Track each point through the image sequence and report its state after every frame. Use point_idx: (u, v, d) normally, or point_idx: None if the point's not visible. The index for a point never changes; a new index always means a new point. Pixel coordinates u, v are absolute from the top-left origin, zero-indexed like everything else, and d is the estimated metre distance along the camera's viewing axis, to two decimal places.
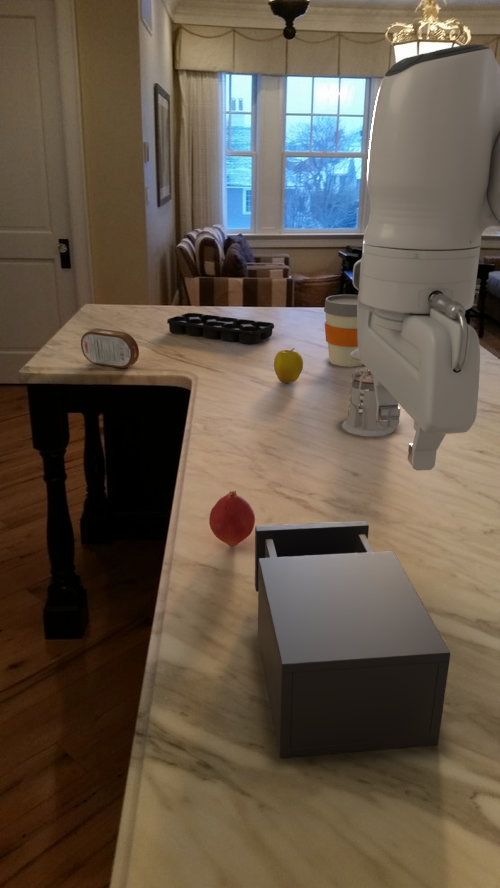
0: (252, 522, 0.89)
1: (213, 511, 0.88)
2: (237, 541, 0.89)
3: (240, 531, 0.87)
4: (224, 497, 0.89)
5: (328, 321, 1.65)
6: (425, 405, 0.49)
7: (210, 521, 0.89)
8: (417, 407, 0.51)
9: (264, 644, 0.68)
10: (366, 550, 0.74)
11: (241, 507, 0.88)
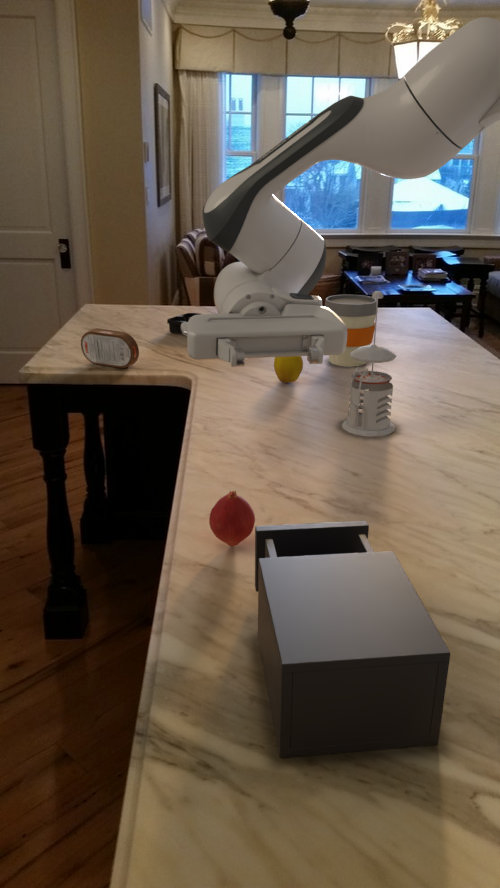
0: (252, 522, 0.89)
1: (213, 511, 0.88)
2: (237, 541, 0.89)
3: (240, 531, 0.87)
4: (224, 497, 0.89)
5: None
6: None
7: (210, 521, 0.89)
8: None
9: (264, 644, 0.68)
10: (366, 550, 0.74)
11: (241, 507, 0.88)
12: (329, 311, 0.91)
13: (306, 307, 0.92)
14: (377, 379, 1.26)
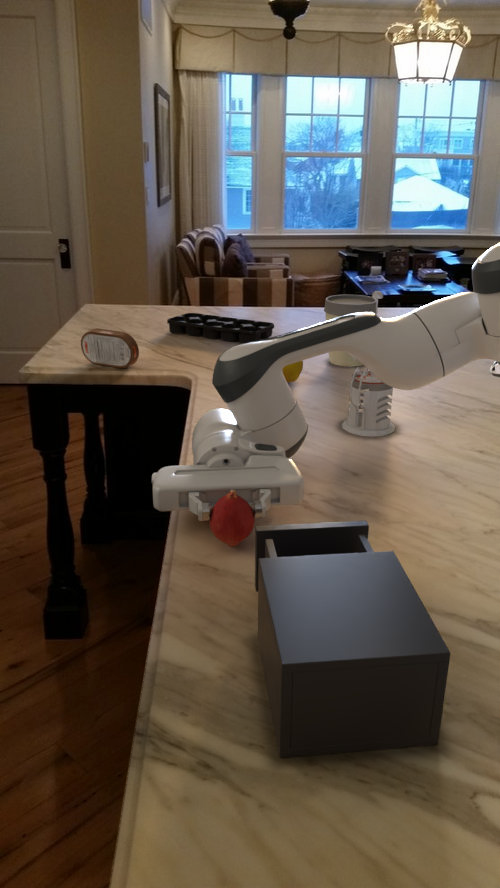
0: (252, 522, 0.89)
1: (213, 511, 0.88)
2: (237, 541, 0.89)
3: (240, 531, 0.87)
4: (224, 497, 0.89)
5: None
6: None
7: (210, 521, 0.89)
8: None
9: (264, 644, 0.68)
10: (366, 550, 0.74)
11: (240, 507, 0.88)
12: (289, 462, 0.97)
13: (268, 458, 0.98)
14: (377, 379, 1.26)
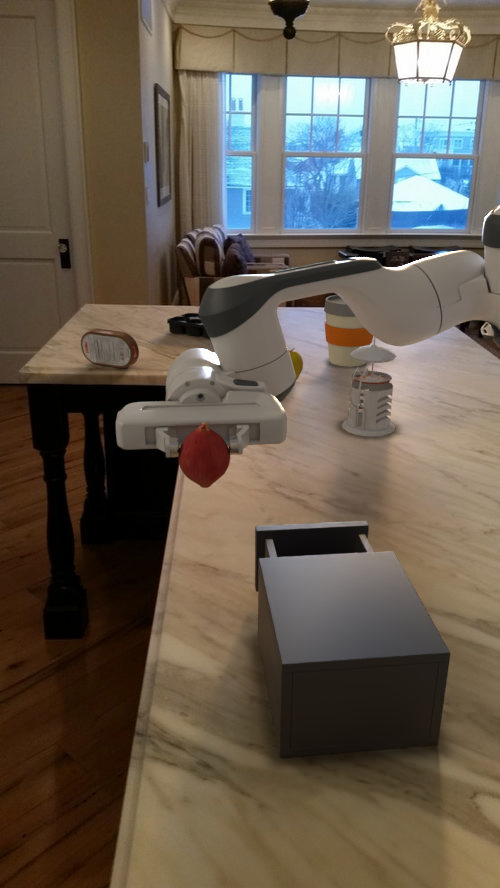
0: (226, 459, 0.78)
1: (183, 446, 0.78)
2: (209, 480, 0.78)
3: (213, 468, 0.77)
4: (195, 431, 0.78)
5: (328, 321, 1.65)
6: None
7: (179, 458, 0.78)
8: None
9: (264, 644, 0.68)
10: (366, 550, 0.74)
11: (213, 441, 0.77)
12: (271, 398, 0.87)
13: (248, 394, 0.88)
14: (377, 379, 1.26)
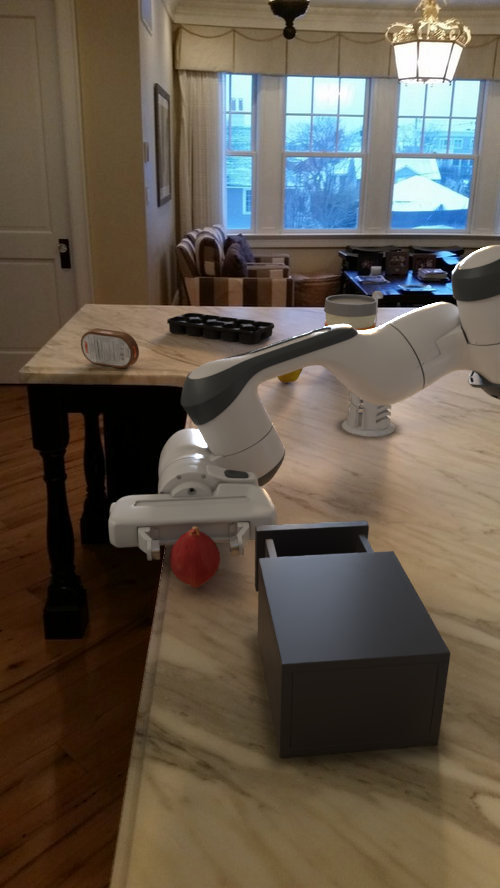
0: (216, 562, 0.80)
1: (173, 550, 0.80)
2: (200, 583, 0.80)
3: (203, 573, 0.79)
4: (185, 534, 0.80)
5: (328, 321, 1.65)
6: None
7: (170, 561, 0.80)
8: None
9: (264, 644, 0.68)
10: (366, 550, 0.74)
11: (203, 546, 0.79)
12: (262, 492, 0.88)
13: (239, 487, 0.89)
14: None
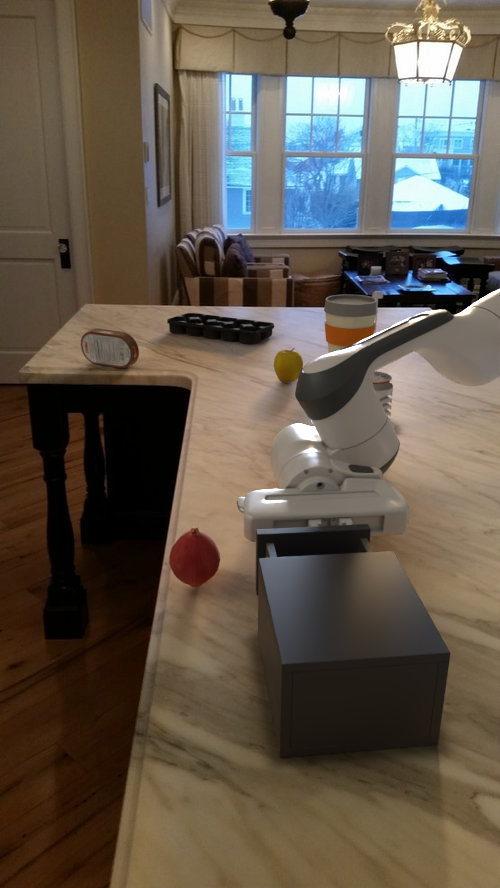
0: (216, 562, 0.80)
1: (173, 550, 0.80)
2: (200, 583, 0.80)
3: (203, 573, 0.79)
4: (185, 534, 0.80)
5: (328, 321, 1.65)
6: None
7: (170, 561, 0.80)
8: None
9: (264, 644, 0.68)
10: None
11: (203, 546, 0.79)
12: (390, 486, 0.88)
13: (366, 481, 0.89)
14: (377, 379, 1.26)
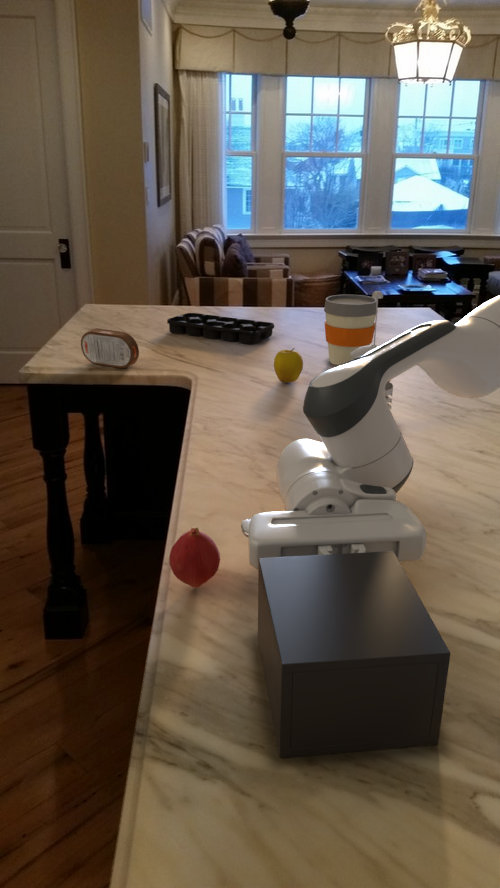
0: (216, 562, 0.80)
1: (173, 550, 0.80)
2: (200, 583, 0.80)
3: (203, 573, 0.79)
4: (185, 534, 0.80)
5: (328, 321, 1.65)
6: None
7: (170, 561, 0.80)
8: None
9: (264, 644, 0.68)
10: None
11: (203, 546, 0.79)
12: (405, 508, 0.83)
13: (379, 503, 0.84)
14: None
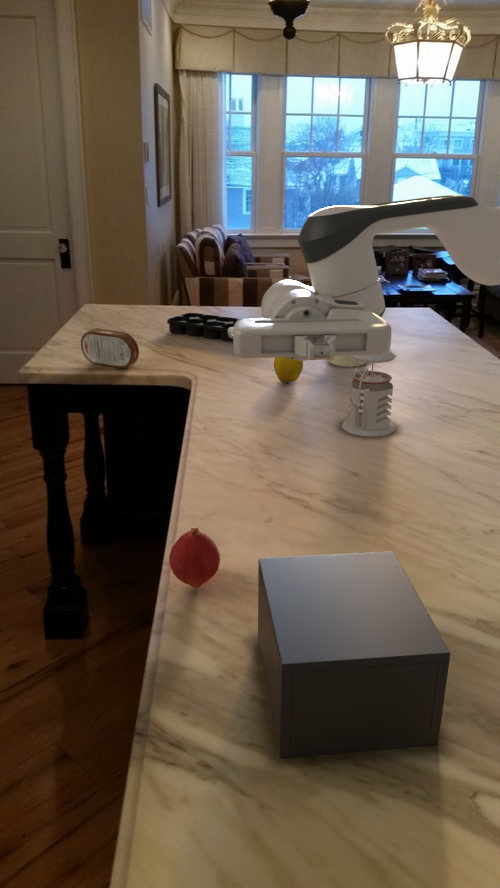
0: (216, 562, 0.80)
1: (173, 550, 0.80)
2: (200, 583, 0.80)
3: (203, 573, 0.79)
4: (185, 534, 0.80)
5: None
6: None
7: (170, 561, 0.80)
8: None
9: (264, 644, 0.68)
10: None
11: (203, 546, 0.79)
12: (373, 314, 0.93)
13: (350, 311, 0.93)
14: (377, 379, 1.26)
